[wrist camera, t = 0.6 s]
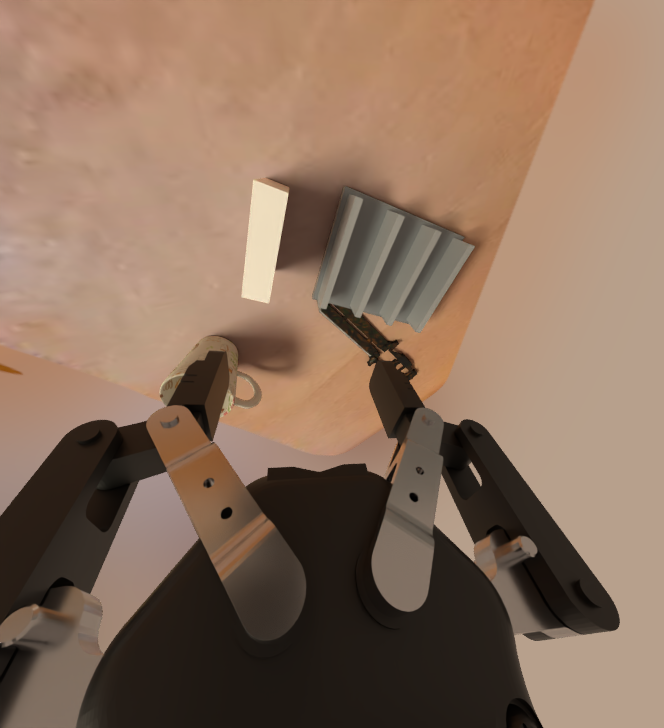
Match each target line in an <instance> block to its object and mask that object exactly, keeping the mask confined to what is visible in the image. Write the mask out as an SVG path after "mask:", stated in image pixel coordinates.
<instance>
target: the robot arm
mask: <svg viewBox="0 0 664 728" xmlns="http://www.w3.org/2000/svg"><path fill="white" fill-rule="evenodd" d="M229 379H230V377H229V367H228V358H227V352H226V351H209V352H208V353H207V356H206V358H205V360H196V361H195V362H194V363H192V364H191V365H190V366H188V368H187V370H186V372H185V374H184V376H183V377H182V379H181V382H180V383H179V385H178V386H177V388H176V390H175V392H174V394H173V396H172V397H171V399H170V401H169V403H168V405H167V406H166V407H164V408H162V409H159V410H158V411H156V412H155V413H153V414H152V415H151V416H150V417H149V419H148V420H147V421H144V422H141V423H137V424H132V425H128V426H123V427H119V428H118V427H117V426H116V425H115V423H114V422H112V421H108V420H97V421H91V422H88V423H85V424H82V425H80V426H78V427H76V428H75V429H73V430H71V431H70V432H69V433H67V434H66V435H65V436H64V437H63V438H62V440H61V441H60V442H59V443H58V445H57V446H56V447H55V449H54V450H53V451H52V452H51V454H50V455H49V456H48V457H47V459H46V460H45V461H44V462H43V464H42V465H41V466H40V467H39V469H38V470H37V471H36V472H35V474H34V475H33V476H32V477H31V479H30V480H29V481H28V482H27V484H26V485H25V486H24V488H23V489H22V490H21V491H20V492H19V494H18V495H17V496H16V497H15V499H14V500H13V501H12V502H11V504H10V505H9V506H8V507H7V509H6V510H5V511H4V512H3V514H2V515H1V516H0V728H543V727H542V725H541V723H540V721H539V719H538V717H537V714H536V712H535V710H534V708H533V705H532V702H531V700H530V697H529V694H528V691H527V688H526V685H525V682H524V678H523V675H522V671H521V668H520V663H519V659H518V655H517V651H516V644H515V638H514V635H517V634H523V635H524V636H526V637H527V638H529V639H531V640H534V641H540V640H547V639H555V638H563V637H570V636H577V635H585V634H592V633H599V632H607V631H613V630H616V629H617V628H618V627H619V623H620V619H619V614H618V611H617V609H616V606H615V604H614V602H613V601H612V599H611V597H610V596H609V594H608V593H607V591H606V590H605V589H604V588H603V586H602V585H601V583H600V582H599V581H598V579H597V578H596V577H595V575H594V574H593V573H592V571H591V570H590V569H589V567H588V566H587V564H586V563H585V562H584V560H583V559H582V558H581V556H580V555H579V554H578V552H577V551H576V550H575V548H574V547H573V546H572V544H571V543H570V541H569V540H568V539H567V538H566V536H565V535H564V533H563V532H562V531H561V529H560V528H559V527H558V525H557V524H556V523H555V521H554V520H553V519H552V517H551V516H550V514H549V513H548V512H547V510H546V509H545V508H544V506H543V505H542V504H541V502H540V501H539V500H538V498H537V497H536V496H535V494H534V493H533V491H532V490H531V489H530V487H529V486H528V485H527V483H526V482H525V481H524V479H523V478H522V477H521V475H520V474H519V472H518V471H517V470H516V468H515V467H514V466H513V464H512V463H511V462H510V460H509V459H508V458H507V456H506V455H505V454H504V452H503V451H502V449H501V448H500V447H499V445H498V444H497V443H496V441H495V440H494V439H493V437H492V436H491V435H490V433H489V432H488V431H487V429H485V428H484V427H483V426H482V425H481V424H479V423H477V422H475V421H473V420H468V419H466V420H463V421H461V423H460V424H459V425H454V424H450V423H447V422H443V420H442V418H441V417H440V416H439V415H438V414H437V413H436V412H434V411H433V410H431V409H428V408H425V407H424V405H423V403H422V401H421V400H420V398H419V396H418V395H417V393H416V391H415V390H414V389H413V386H412V385H411V384H410V382H409V380H408V378H407V377H406V376H405V375H404V374H403V373H402V372H401V371H400V370H397V369H396V367H395V366H394V364H393V362H392V361H380V360H379V361H377V363H376V365H375V368H374V371H373V374H372V376H371V379H370V383H369V389H370V392H371V395H372V398H373V400H374V403H375V405H376V408H377V410H378V413H379V416H380V418H381V421H382V423H383V426H384V428H385V431H386V434H387V436H388V438H397V440H398V442H397V444H396V447H395V449H394V452H393V454H392V457H391V460H390V462H389V465H388V468H387V470H386V473H385V475H384V477H381V476H379V475H377V474H375V473H372V472H369V471H367V468H366V464H346V465H345V464H344V465H340V466H337V467H334V468H331V469H328V470H325V471H322V472H316V471H311V470H306V469H301V468H296V467H281V468H268V475H267V476H265V477H262V478H260V479H258V480H256V481H254V482H252V483H250V484H249V485H248V486H246V487H245V486H244V484H243V483H242V482H241V480H240V478H239V477H238V475H237V474H236V472H235V471H234V469H233V468H232V466H231V465H230V464H229V462H228V461H227V459H226V458H225V456H224V455H223V453H222V452H221V450H220V449H219V447H218V446H217V445H216V444H215V443H214V442H213V443H211V442H210V441H213V438H214V435H215V431H216V428H217V424H218V421H219V418H220V414H221V411H222V407H223V404H224V401H225V397H226V394H227V391H228V387H229ZM471 462H472V463H473V465H474V467H475V468H476V470H477V471H478V473H479V475H480V477H481V480H482V486H480V484H479V483H478V481H477V479H476V477H475V476H474V474H473V472H472V471H471V469H470V467H469V464H470V463H471ZM164 472H167V473H168V474H169V477H170V479H171V481H172V483H173V485H174V487H175V489H176V491H177V493H178V495H179V497H180V499H181V501H182V503H183V506H184V507H185V510H186V512H187V514H188V516H189V518H190V520H191V522H192V524H193V526H194V529H195V531H196V533H197V535H198V537H199V539H198V541H196V543H195V544H194V545H193V546H192V548H190V550H189V551H188V552H187V553H186V554H185V555H184V557H183V558H182V559H181V560H180V561H179V562H178V564H177V565H176V566H175V567H174V568H173V569H172V570H171V572H170V573H169V574H168V575H167V576H166V577H165V579H164V580H163V581H162V582H161V583H160V584H159V586H158V587H157V588H156V589H155V590H154V591H153V593H152V594H151V595H150V596H149V597H148V598H147V600H146V601H145V602H144V603H143V604H142V605H141V607H140V608H139V609H138V610H137V611H136V612H135V614H134V615H133V616H132V617H131V618H130V619H129V620H128V622H127V623H126V624H125V625H124V626H123V628H122V629H121V630H120V631H119V633H118V634H117V635H116V637H115V638H114V640H113V641H112V642H111V644H110V645H109V647H108V648H107V650H106V651H105V653H104V654H103V653H102V652H101V650H100V648H99V644H98V632H99V627H100V623H101V620H102V612H103V610H102V604H101V602H100V600H99V599H98V598H96V597H95V596H93V595H91V594H90V593H91V591H92V588H93V586H94V584H95V581H96V579H97V577H98V574H99V572H100V570H101V568H102V565H103V563H104V561H105V558H106V556H107V554H108V551H109V549H110V547H111V544H112V542H113V540H114V538H115V535H116V533H117V531H118V528H119V526H120V524H121V521H122V519H123V517H124V515H125V512H126V510H127V507H128V505H129V503H130V500H131V498H132V496H133V494H134V491H135V489H136V487H137V484H138V482H139V480H142V479H145V478H148V477H151V476H154V475H158V474H161V473H164ZM441 474H442V476H443V478H444V480H445V482H446V484H447V486H448V489H449V491H450V493H451V495H452V497H453V499H454V502H455V504H456V506H457V508H458V510H459V512H460V514H461V517H462V519H463V521H464V523H465V525H466V527H467V529H468V532H469V533H470V536H471V538H472V540H473V542H474V544H475V546H474V556H475V561H474V562H473V561H472V560H471V559H470V558H469V557H468V556H467V555H465V554H464V553H463V552H462V551H461V550H460V549H459V548H458V547H457V546H456V545H455V544H454V543H453V542H452V541H451V540H450V539H449V538H448V537H447V536H446V535H445V534H443V533H442V532H441V531H440V530H439V529H438V528H437V527H436V526H435V525H434V519H435V512H436V505H437V498H438V491H439V485H440V478H441Z"/></svg>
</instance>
